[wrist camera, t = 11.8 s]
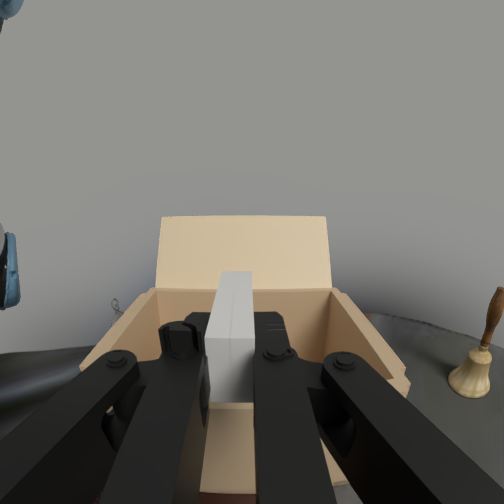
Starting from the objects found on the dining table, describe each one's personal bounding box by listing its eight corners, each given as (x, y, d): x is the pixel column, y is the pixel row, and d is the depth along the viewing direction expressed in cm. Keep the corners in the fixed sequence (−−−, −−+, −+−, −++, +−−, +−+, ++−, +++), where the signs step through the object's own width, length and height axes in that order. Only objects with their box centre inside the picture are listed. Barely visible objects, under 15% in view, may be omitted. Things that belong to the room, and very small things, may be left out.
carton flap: (325, 216, 38) (324, 218, 39) (162, 216, 38) (163, 218, 38) (331, 287, 35) (330, 288, 36) (155, 287, 35) (156, 288, 35)
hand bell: (440, 372, 34) (467, 279, 30) (474, 365, 33) (501, 278, 30) (461, 403, 26) (502, 301, 22) (497, 391, 25) (534, 297, 22)
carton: (369, 482, 18) (421, 387, 15) (118, 481, 18) (64, 385, 15) (328, 372, 39) (340, 287, 35) (161, 372, 38) (147, 287, 35)
